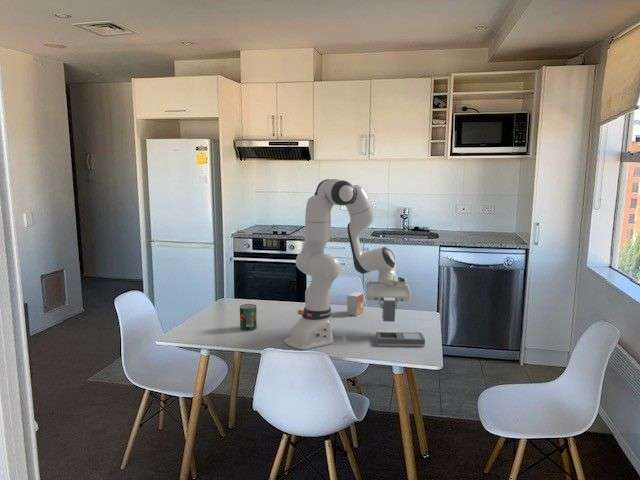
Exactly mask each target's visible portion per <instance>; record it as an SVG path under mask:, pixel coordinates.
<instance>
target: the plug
mask: <svg viewBox="0 0 640 480" xmlns="http://www.w3.org/2000/svg"><path fill="white" fill-rule="evenodd" d="M382 304H384V308H383V309H382V315H381V318H382V321H383V322H389V323H390V322H391V323H392V322H393V323H394V322H395V321H396V320H395V319H396V309H395V304H396V300H395V298H389V297H383V301H382Z"/></svg>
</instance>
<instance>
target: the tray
mask: <svg viewBox="0 0 640 480" xmlns="http://www.w3.org/2000/svg"><path fill="white" fill-rule="evenodd" d="M376 332H400V331H399V330H398V329H397V330H395V329H393V330H390V329H389V330H388V329H387V330H386V329H377V330H376Z"/></svg>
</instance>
